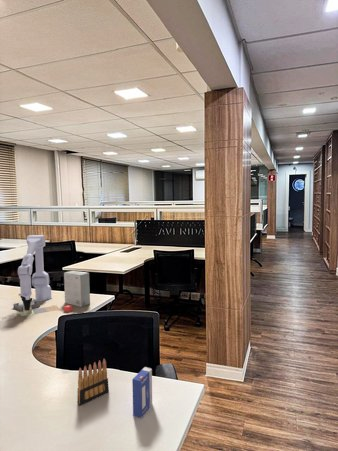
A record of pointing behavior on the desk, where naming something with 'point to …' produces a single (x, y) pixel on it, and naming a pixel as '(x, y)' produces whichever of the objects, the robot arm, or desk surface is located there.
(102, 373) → the ammunition clip
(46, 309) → the game mat
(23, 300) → the robot arm
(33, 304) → the dome button
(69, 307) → the red die
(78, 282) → the hard drive box
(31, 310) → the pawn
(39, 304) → the button housing
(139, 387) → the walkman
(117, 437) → the desk surface
